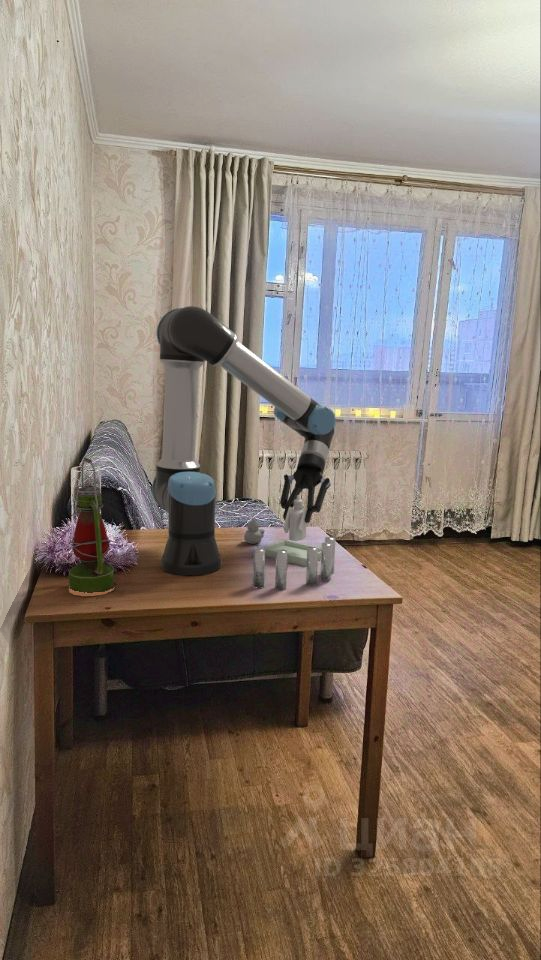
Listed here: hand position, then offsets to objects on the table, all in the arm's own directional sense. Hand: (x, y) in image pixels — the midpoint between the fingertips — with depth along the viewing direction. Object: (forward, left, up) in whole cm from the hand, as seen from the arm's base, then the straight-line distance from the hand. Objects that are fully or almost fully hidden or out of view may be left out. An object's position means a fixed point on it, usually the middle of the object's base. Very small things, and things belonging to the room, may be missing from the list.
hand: (293, 531), depth 168 cm
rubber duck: (-17, +6, -8) cm, 20 cm away
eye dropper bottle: (-1, +4, -3) cm, 5 cm away
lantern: (-24, -47, -8) cm, 53 cm away
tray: (-1, +3, -8) cm, 9 cm away
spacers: (+10, -12, -8) cm, 18 cm away
